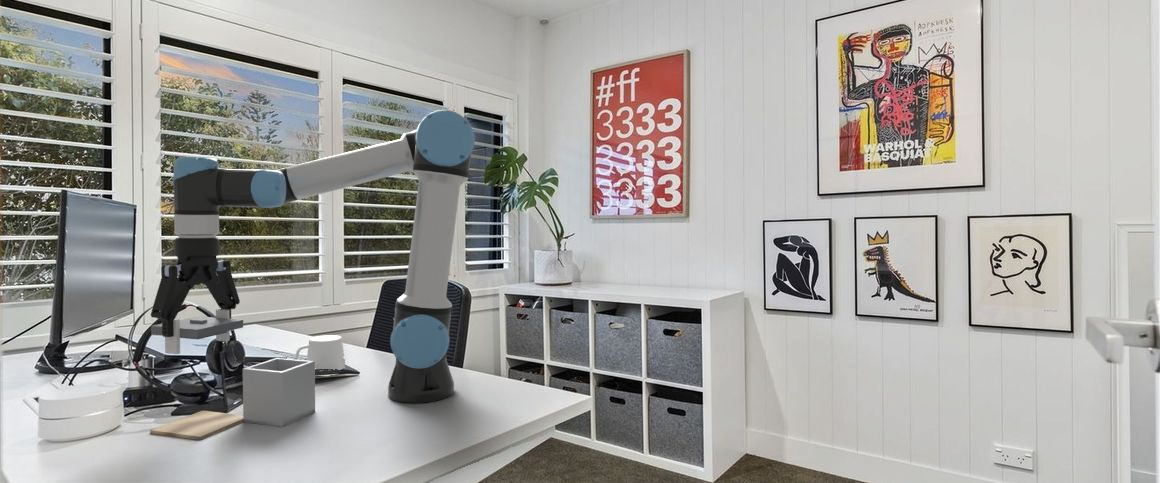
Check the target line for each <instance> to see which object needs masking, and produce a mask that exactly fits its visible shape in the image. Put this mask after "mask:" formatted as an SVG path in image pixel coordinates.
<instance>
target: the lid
mask: <svg viewBox="0 0 1160 483" xmlns="http://www.w3.org/2000/svg"><path fill="white" fill-rule="evenodd" d="M242 328H244V319H237V318H235V319H234V318H231V319H227V318H216V317H211V316H210V317H209V316H195V317H194V316H193V317H190V318H185V319H180V339H187V340H189V339H190V340H202V339H206V338H210V337H213V336H215V337H216V335H219V334H223V333H227V331H234V330H239V329H242ZM150 334H151V335H157V336H163V335H162V323H159V324H153V325H151V326H150Z"/></svg>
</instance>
